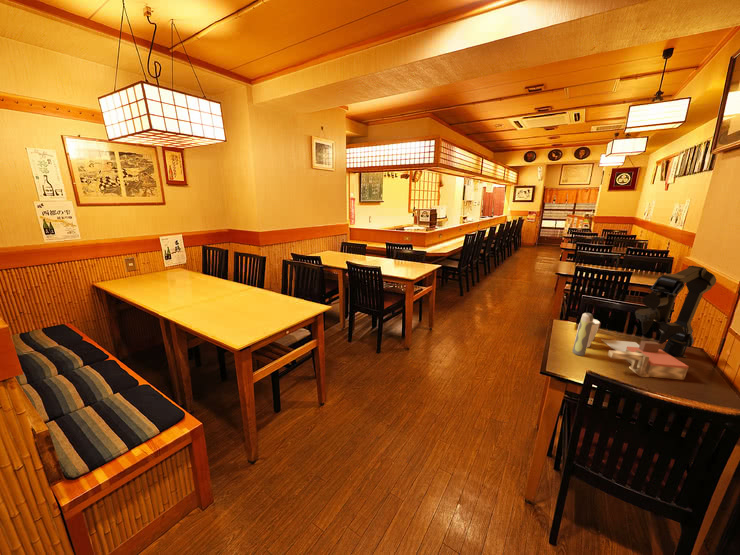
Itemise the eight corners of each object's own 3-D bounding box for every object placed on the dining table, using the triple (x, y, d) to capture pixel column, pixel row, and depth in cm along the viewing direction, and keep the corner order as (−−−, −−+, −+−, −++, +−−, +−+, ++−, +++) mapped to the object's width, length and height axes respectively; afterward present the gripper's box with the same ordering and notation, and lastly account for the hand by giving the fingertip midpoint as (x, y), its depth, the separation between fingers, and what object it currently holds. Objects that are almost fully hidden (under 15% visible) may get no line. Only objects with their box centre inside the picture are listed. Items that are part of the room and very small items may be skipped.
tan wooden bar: (640, 357, 127) (642, 352, 127) (645, 360, 125) (646, 355, 124) (607, 354, 128) (609, 350, 128) (611, 357, 126) (612, 353, 126)
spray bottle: (575, 349, 145) (585, 310, 139) (586, 354, 141) (597, 314, 135) (570, 352, 142) (579, 312, 137) (581, 357, 138) (592, 316, 133)
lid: (659, 351, 136) (663, 341, 135) (687, 368, 123) (691, 357, 121) (626, 348, 137) (629, 338, 136) (650, 365, 124) (654, 354, 123)
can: (587, 342, 152) (593, 320, 149) (592, 348, 146) (598, 326, 143) (572, 340, 154) (578, 318, 151) (576, 346, 148) (582, 323, 145)
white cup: (598, 342, 154) (603, 324, 151) (583, 341, 154) (587, 323, 151) (588, 335, 161) (592, 317, 158) (573, 334, 161) (577, 316, 159)
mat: (634, 342, 154) (635, 342, 154) (660, 359, 139) (660, 358, 139) (601, 340, 156) (601, 339, 156) (622, 356, 141) (623, 355, 140)
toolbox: (656, 361, 137) (662, 343, 135) (685, 380, 123) (692, 361, 121) (616, 357, 139) (621, 340, 137) (639, 376, 125) (646, 357, 123)
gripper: (627, 296, 138) (617, 327, 142) (660, 312, 120) (648, 347, 124) (653, 298, 137) (643, 329, 141) (691, 314, 119) (678, 349, 123)
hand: (652, 338), depth 132 cm, fingers open, 9 cm apart
